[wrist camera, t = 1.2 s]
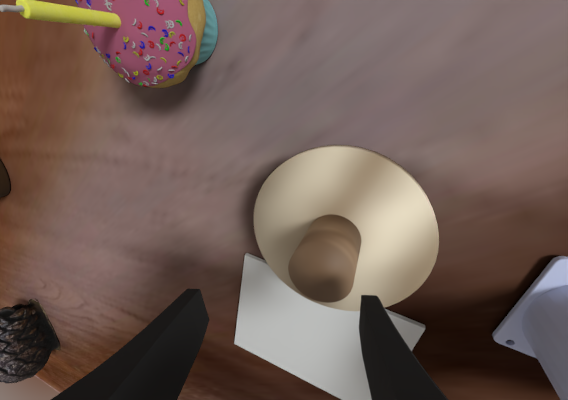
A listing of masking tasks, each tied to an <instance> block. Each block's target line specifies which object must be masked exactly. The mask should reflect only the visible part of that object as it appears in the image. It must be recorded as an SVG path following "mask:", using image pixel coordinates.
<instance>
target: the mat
mask: <svg viewBox="0 0 568 400" xmlns="http://www.w3.org/2000/svg"><path fill="white" fill-rule="evenodd" d="M385 310H386V312H387V314H388V315H389V317H390V319H391V320H392V322H393V324H394V325H395V327H396V329H397V330H398V332H399V333H400V335H401V336H402V338H403V339H404V341H405V342H406V344H407V345H408V347H409V348H410V350H411V351H412V350H413V348H414V346H415V345H416V343H417V342H418V340H419V338H420V337H421V335H422V334H423V332H424V330H425V325H424V324H421V323H419V322H417V321H414V320H412V319H409V318H407V317H404V316H402V315H399V314H397V313H394V312H392V311H389V310H387V309H385ZM359 318H360V311H345V310H339V309H334V308H330V307H326V306H323V305H320V304H318V303H315V302H313V301H311V300H309V299H307V298H305V297H303V296H301V295H300V294H298V293H296V292H295V291H294V290H292V289H291V288H290V287H288V286H287V285H286V284H285V283H284V282H283V281H282V280H280V279H279V277H278V276H277V275H276V274H275V273H274V272H273V271H272V269H271V268H270V267H269V265H268V264H267V262H266V260H263V259H261V258H258V257H256V256H253V255H251V254H249V253H246V254H245V258H244V267H243V275H242V283H241V292H240V300H239V308H238V317H237V325H236V333H235V342H234V344H236V345H238V346H240V347H242V348H244V349H246V350H248V351H250V352H251V353H253V354H255V355H257V356H259V357H261V358H263V359H265V360H267V361H269V362H271V363H273V364H274V365H276V366H278V367H280V368H282V369H284V370H286V371H288V372H290V373H292V374H294V375H296V376H297V377H299V378H301V379H303V380H305V381H307V382H309V383H311V384H313V385H315V386H317V387H319V388H320V389H322V390H324V391H326V392H328V393H330V394H332V395H334V396H336V397H338V398H340V399H342V400H372V398H371V393H370V389H369V384H368V380H367V375H366V371H365V366H364V361H363V357H362V351H361V343H360V334H359Z"/></svg>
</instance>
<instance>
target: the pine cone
mask: <svg viewBox="0 0 568 400" xmlns="http://www.w3.org/2000/svg"><path fill="white" fill-rule="evenodd" d="M28 304H29V305H22V304H18V305H15V306H13V307H4V308H2V309H0V382H5V383H14V382H15V383H17V382H18V381H22V380H24V379H27V378H31V377H33V376H34V375H35V374H36V373H37V372H38V371H40V370H41V369H42V368H43V367H44V366H45V364H46V363H47V361H48V359H49V356H50V353H51V351H52V350H54V349H56V350H60V344H59V342H58V339H57V337H56V334H55V332H54V330H53V327H52V326H51V324H50V323H49V320H48V318H47V315H46V313H45V312H44V310H43V308H42V306H41V305H40V304H39V302H36V301H34V300H33V299H30V300H29V302H28Z"/></svg>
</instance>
